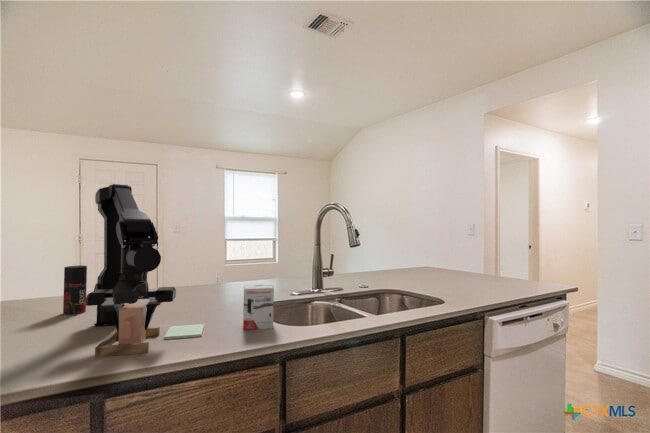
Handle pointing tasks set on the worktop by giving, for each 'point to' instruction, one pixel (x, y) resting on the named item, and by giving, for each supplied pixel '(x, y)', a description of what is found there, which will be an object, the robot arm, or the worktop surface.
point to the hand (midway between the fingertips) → (132, 330)
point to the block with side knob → (132, 324)
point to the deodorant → (74, 290)
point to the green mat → (184, 331)
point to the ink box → (258, 306)
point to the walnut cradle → (108, 349)
